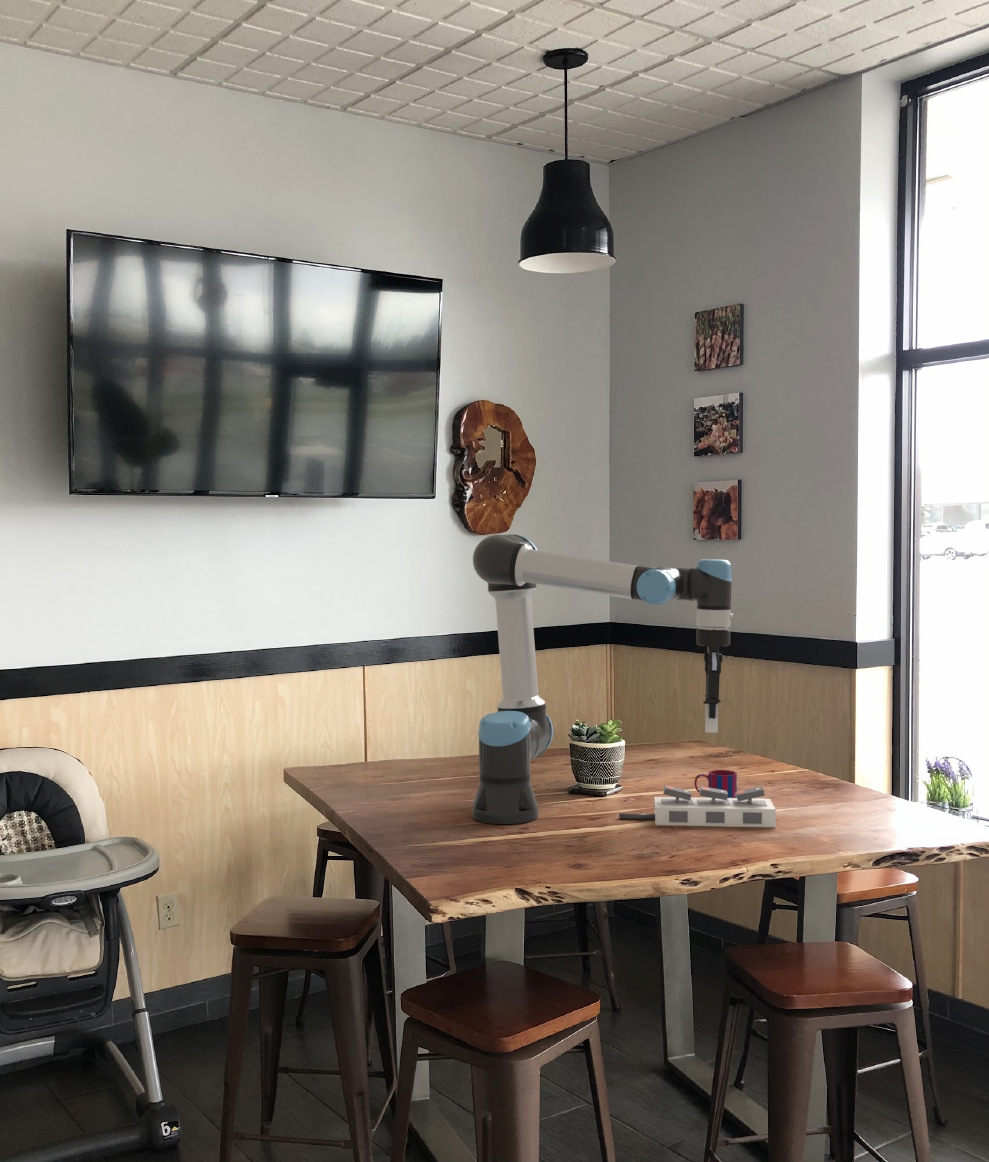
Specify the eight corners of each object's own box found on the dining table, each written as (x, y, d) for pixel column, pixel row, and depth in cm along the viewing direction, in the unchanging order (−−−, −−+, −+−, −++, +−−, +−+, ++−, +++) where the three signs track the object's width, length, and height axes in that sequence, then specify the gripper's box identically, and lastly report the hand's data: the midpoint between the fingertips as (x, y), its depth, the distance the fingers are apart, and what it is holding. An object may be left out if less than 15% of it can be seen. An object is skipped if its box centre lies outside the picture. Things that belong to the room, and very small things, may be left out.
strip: (619, 824, 249) (618, 800, 249) (619, 813, 259) (619, 790, 259) (775, 827, 245) (775, 803, 245) (769, 816, 255) (769, 793, 255)
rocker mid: (700, 795, 250) (701, 789, 250) (699, 792, 254) (700, 785, 254) (727, 800, 250) (728, 794, 250) (725, 796, 253) (726, 790, 253)
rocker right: (738, 801, 249) (736, 795, 249) (736, 797, 253) (734, 791, 253) (764, 795, 249) (763, 789, 249) (762, 792, 252) (761, 785, 252)
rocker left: (663, 794, 251) (665, 787, 251) (663, 790, 255) (664, 784, 255) (690, 800, 251) (691, 794, 250) (689, 796, 254) (690, 790, 254)
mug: (736, 804, 267) (736, 775, 267) (693, 802, 269) (693, 774, 269) (737, 798, 274) (737, 770, 273) (695, 796, 276) (695, 768, 276)
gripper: (732, 630, 246) (730, 737, 247) (728, 625, 259) (726, 727, 260) (697, 630, 247) (695, 736, 248) (695, 625, 260) (693, 726, 261)
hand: (711, 731), depth 254 cm, fingers closed
